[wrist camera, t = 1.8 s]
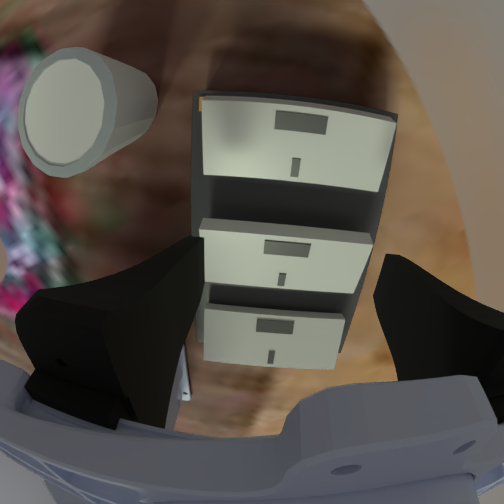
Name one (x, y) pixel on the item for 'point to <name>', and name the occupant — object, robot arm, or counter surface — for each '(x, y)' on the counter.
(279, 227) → the filing cabinet drawer
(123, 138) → the shot glass
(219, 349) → the pale rectangular block
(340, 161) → the cabinet drawer
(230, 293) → the filing cabinet
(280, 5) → the counter surface
